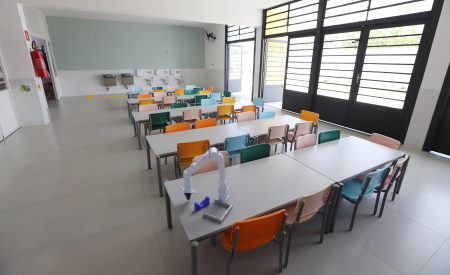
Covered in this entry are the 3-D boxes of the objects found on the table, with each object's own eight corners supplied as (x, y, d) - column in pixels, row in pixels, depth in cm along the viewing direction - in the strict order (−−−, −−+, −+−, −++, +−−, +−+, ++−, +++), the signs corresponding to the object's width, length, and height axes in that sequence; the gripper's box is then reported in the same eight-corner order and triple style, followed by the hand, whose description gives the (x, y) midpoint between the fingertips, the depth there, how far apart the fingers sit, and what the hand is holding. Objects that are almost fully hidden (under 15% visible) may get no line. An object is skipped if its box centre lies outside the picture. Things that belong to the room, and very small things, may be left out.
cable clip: (205, 201, 172) (205, 195, 170) (209, 204, 169) (209, 197, 167) (193, 208, 165) (193, 201, 162) (197, 211, 162) (196, 204, 159)
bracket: (215, 201, 172) (215, 199, 171) (232, 207, 166) (232, 204, 165) (203, 215, 157) (203, 213, 156) (221, 222, 151) (221, 219, 150)
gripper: (176, 184, 167) (177, 199, 171) (192, 189, 161) (193, 205, 165) (182, 180, 173) (183, 194, 177) (198, 185, 167) (198, 200, 171)
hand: (188, 199), depth 172 cm, fingers closed
